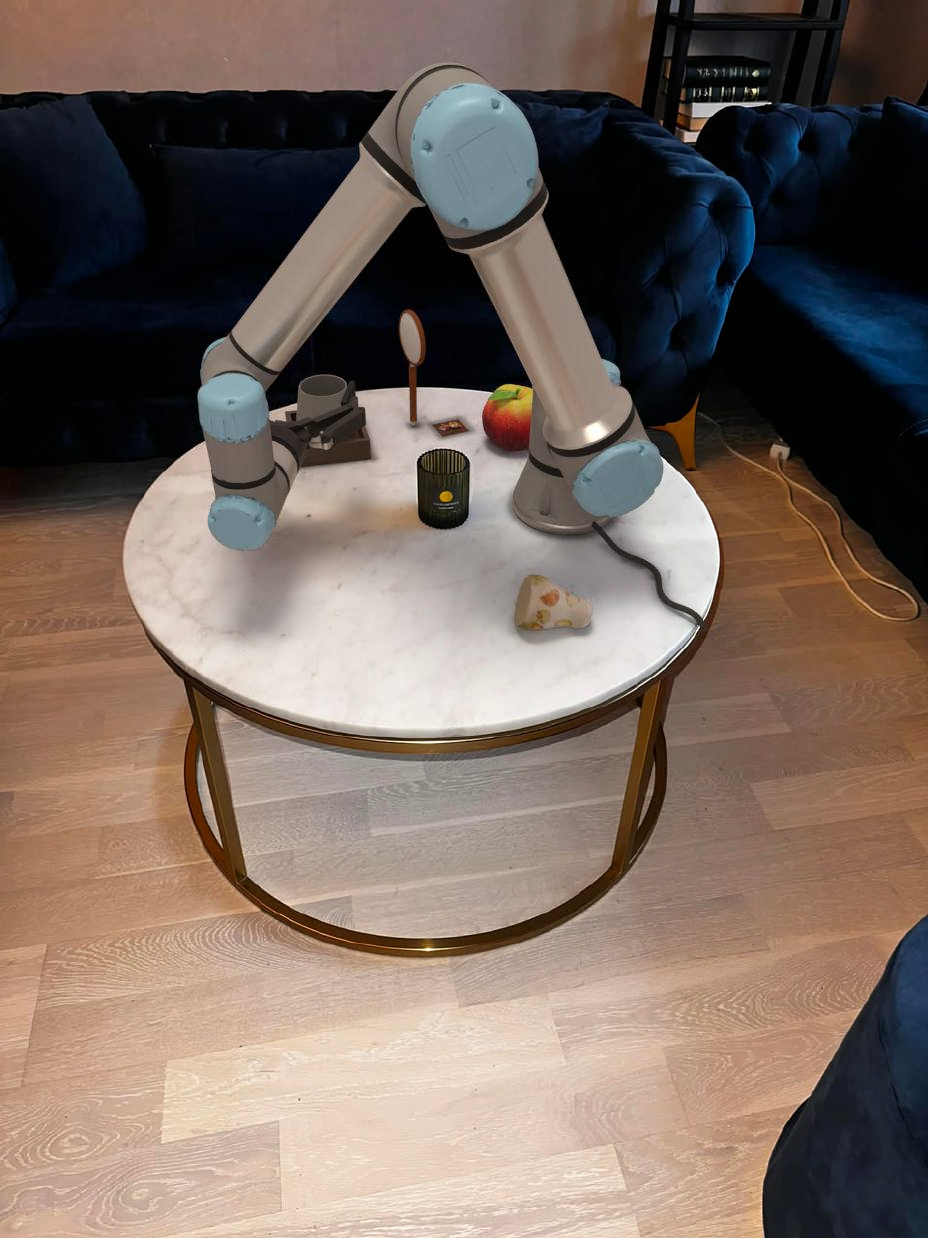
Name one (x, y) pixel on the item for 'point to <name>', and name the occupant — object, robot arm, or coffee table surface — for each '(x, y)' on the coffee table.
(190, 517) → the coffee table surface
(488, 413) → the fruit
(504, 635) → the coffee table surface
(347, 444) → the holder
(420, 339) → the magnifying glass
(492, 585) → the coffee table surface
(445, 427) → the picture card
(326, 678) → the coffee table surface
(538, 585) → the beige spotted lump
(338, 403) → the cup
